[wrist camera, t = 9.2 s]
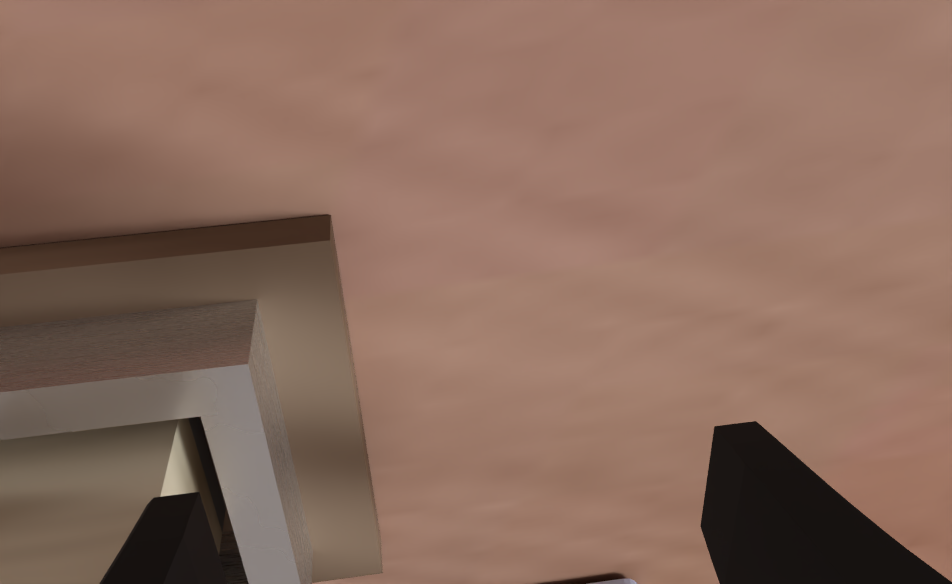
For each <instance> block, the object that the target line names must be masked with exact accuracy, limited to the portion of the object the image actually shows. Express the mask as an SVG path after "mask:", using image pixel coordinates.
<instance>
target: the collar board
mask: <svg viewBox="0 0 952 584" xmlns="http://www.w3.org/2000/svg"><path fill="white" fill-rule="evenodd" d="M191 417H199V418H200V422H201V425H202V429H203V432H204V436H205V439H206V443H207V446H208V450H209V453H210V457H211V460H212V464H213V467H214V471H215V474H216V478H217V481H218V484H219V488H220V491H221V495H222V498H223V502H224V505H225V509H226V511H225V518H224V525H223V531H222V538H221V545H220V552H219V557H220V560H221V564H222V567H223V570H224V573H225V577H226V580H227V583H228V584H312V583H314V582H321V581H328V580H336V579H343V578H350V577H358V576H365V575H372V574H380V573H383V572H382V553H381V538H380V532H379V525H378V519H377V512H376V506H375V499H374V493H373V486H372V480H371V473H370V467H369V461H368V454H367V448H366V441H365V435H364V428H363V422H362V415H361V409H360V402H359V396H358V389H357V383H356V376H355V370H354V363H353V357H352V350H351V344H350V337H349V331H348V324H347V318H346V311H345V305H344V299H343V292H342V286H341V279H340V273H339V266H338V260H337V253H336V247H335V240H334V234H333V227H332V221H331V215H324V216H314V217H305V218H295V219H285V220H275V221H265V222H255V223H245V224H235V225H225V226H216V227H206V228H196V229H186V230H176V231H166V232H156V233H146V234H137V235H127V236H117V237H107V238H97V239H87V240H77V241H67V242H57V243H48V244H38V245H28V246H18V247H8V248H0V440H7V439H15V438H24V437H32V436H41V435H49V434H57V433H66V432H74V431H82V430H91V429H99V428H108V427H116V426H124V425H133V424H141V423H149V422H158V421H166V420H175V419H183V418H191Z"/></svg>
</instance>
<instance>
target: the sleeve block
mask: <svg viewBox="0 0 952 584" xmlns="http://www.w3.org/2000/svg"><path fill="white" fill-rule="evenodd" d="M194 492H200V496H201V499H202V502H203V505H204V509H205V512H206V515H207V518H208V522H209V525H210V528H211V531H212V535H213V538H214V541H215V544H216V548H217V551H218V554H219V552H220V545H221V538H222V531H223V525H224V518H225V511H226V509H225V505H224V502H223V498H222V495H221V491H220V488H219V484H218V481H217V478H216V474H215V471H214V467H213V464H212V460H211V457H210V453H209V450H208V446H207V443H206V439H205V436H204V432H203V429H202V425H201V422H200V418H199V417H191V418H183V419H175V420H166V421H158V422H149V423H141V424H133V425H124V426H116V427H108V428H99V429H91V430H82V431H74V432H66V433H57V434H49V435H41V436H32V437H24V438H15V439H7V440H0V584H99V583H100V582H101V580H102V578H103V577H104V575H105V574H106V572H107V570H108V569H109V567H110V566H111V564H112V562H113V561H114V559H115V558H116V556H117V554H118V553H119V551H120V549H121V548H122V546H123V544H124V543H125V541H126V539H127V538H128V536H129V534H130V533H131V531H132V529H133V528H134V526H135V524H136V523H137V521H138V519H139V517H140V516H141V514H142V512H143V511H144V509H145V507H146V506H147V504H148V503H149V502H150V501H151V500H152V499H153V498H154V497H162V496H170V495H178V494H186V493H194Z"/></svg>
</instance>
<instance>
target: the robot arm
mask: <svg viewBox="0 0 952 584" xmlns="http://www.w3.org/2000/svg"><path fill="white" fill-rule="evenodd" d="M701 529H702V532H703V535H704V538H705V541H706V544H707V547H708V550H709V553H710V557H711V560H712V563H713V566H714V568H715V571H716V574H717V577H718V580H719V583H720V584H952V582H951V581H949V580H948V579H947V578H945V577H944V576H942V575H941V574H940V573H938V572H937V571H936V570H934V569H933V568H932V567H930V566H929V565H928V564H926V563H925V562H924V561H922V560H921V559H920V558H918V557H917V556H916V555H914V554H913V553H911V552H910V551H909V550H907V549H906V548H905V547H904V546H902V545H901V544H900V543H899V542H897V541H896V540H895V539H893V538H892V537H891V536H890V535H888V534H887V533H886V532H885V531H883V530H882V529H881V528H880V527H879V526H877V525H876V524H875V523H874V522H872V521H871V520H870V519H869V518H868V517H866V516H865V515H864V514H863V513H861V512H860V511H859V510H858V509H857V508H855V507H854V506H853V505H852V504H851V503H849V502H848V501H847V500H846V499H845V498H843V497H842V496H841V495H840V494H839V493H838V492H836V491H835V490H834V489H833V488H832V487H831V486H829V485H828V484H827V483H826V482H825V481H824V480H823V479H821V478H820V477H819V476H818V475H817V474H816V473H814V472H813V471H812V470H811V469H810V468H809V467H808V466H806V465H805V464H804V463H803V462H802V461H801V460H800V459H799V458H797V457H796V456H795V455H794V454H793V453H792V452H791V451H789V450H788V449H787V448H786V447H785V446H784V445H783V444H781V443H780V442H779V441H778V440H777V439H776V438H775V437H773V436H772V435H771V434H770V433H769V432H768V431H767V430H765V429H764V428H763V427H762V426H761V425H760V424H759V423H757V422H756V421H754V422H746V423H738V424H730V425H723V426H715V427H714V434H713V441H712V448H711V455H710V463H709V470H708V477H707V484H706V491H705V498H704V505H703V513H702V520H701ZM99 584H228V583H227V580H226V577H225V573H224V570H223V567H222V564H221V560H220V557H219V554H218V551H217V548H216V544H215V541H214V538H213V535H212V531H211V528H210V525H209V522H208V518H207V515H206V512H205V509H204V505H203V502H202V499H201V496H200V492H194V493H186V494H178V495H170V496H162V497H154V498H153V499H152V500H151V501H150V502H149V503H148V504H147V506H146V507H145V509H144V511H143V512H142V514H141V516H140V517H139V519H138V521H137V523H136V524H135V526H134V528H133V529H132V531H131V533H130V534H129V536H128V538H127V539H126V541H125V543H124V544H123V546H122V548H121V549H120V551H119V553H118V554H117V556H116V558H115V559H114V561H113V562H112V564H111V566H110V567H109V569H108V570H107V572H106V574H105V575H104V577H103V578H102V580H101V582H100V583H99ZM588 584H637V583H636V582H635V581H634V580H632V579H616V580H609V581H602V582H595V583H588Z"/></svg>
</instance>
